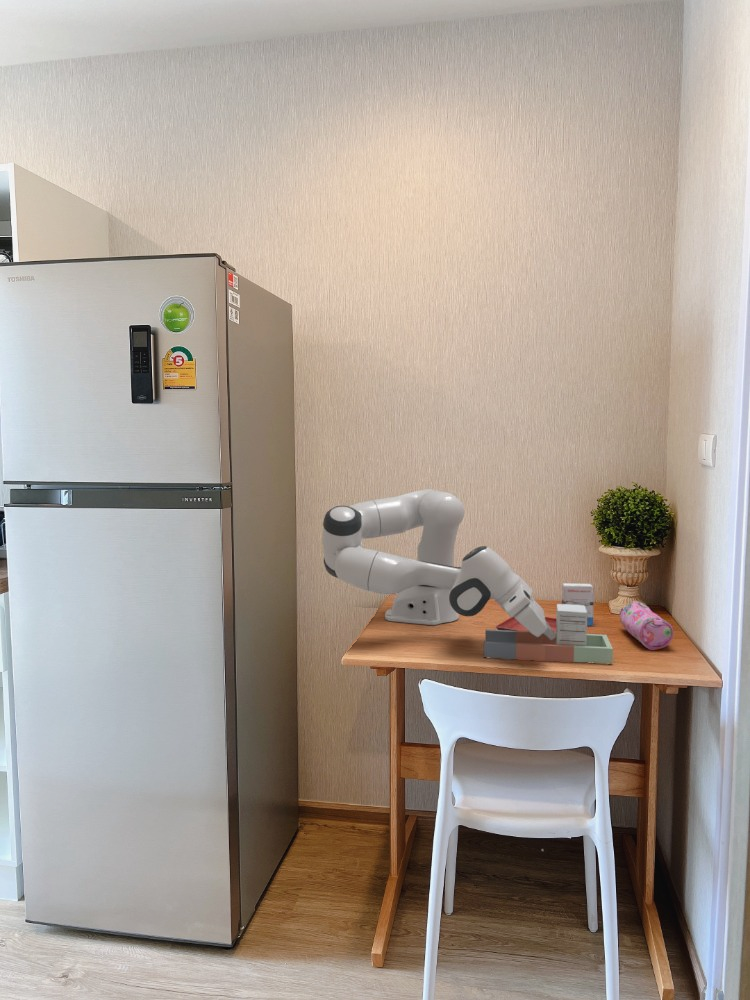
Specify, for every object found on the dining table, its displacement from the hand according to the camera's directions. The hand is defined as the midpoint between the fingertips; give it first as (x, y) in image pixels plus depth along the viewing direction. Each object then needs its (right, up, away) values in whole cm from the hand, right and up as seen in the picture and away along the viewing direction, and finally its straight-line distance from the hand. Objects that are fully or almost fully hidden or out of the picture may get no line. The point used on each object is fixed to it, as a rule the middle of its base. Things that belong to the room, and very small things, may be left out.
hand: (553, 636), depth 190 cm
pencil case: (+28, -4, +14) cm, 32 cm away
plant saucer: (0, -3, +20) cm, 21 cm away
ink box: (+14, -2, +31) cm, 34 cm away
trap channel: (-2, -5, +2) cm, 6 cm away
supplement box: (+4, -5, 0) cm, 7 cm away
